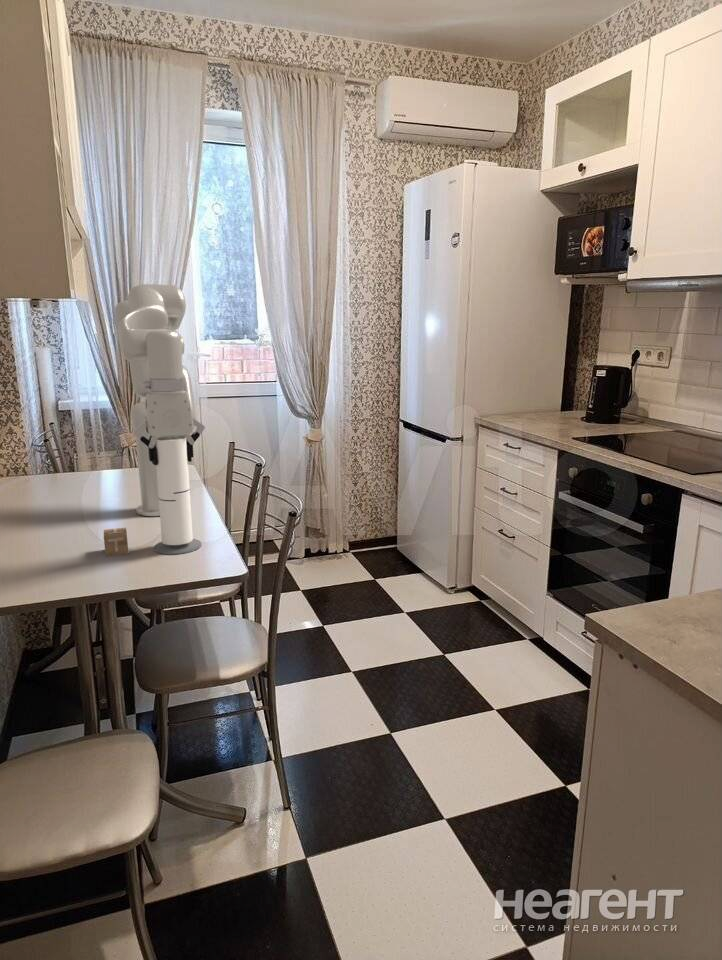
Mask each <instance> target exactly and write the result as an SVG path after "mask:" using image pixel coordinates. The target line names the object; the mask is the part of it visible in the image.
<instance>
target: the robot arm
mask: <svg viewBox="0 0 722 960" xmlns="http://www.w3.org/2000/svg"><path fill="white" fill-rule="evenodd" d="M186 303H187V302H186V298H185V295H184V292H183V291H182V289H181V288H180V287H178V286H176V285H174V284H151V283H147V284H146V283H145V284H138V285H134V286H133V287H132V288H131V289H130V290H129V291H128V294H127V300H123V301H120V302H118V303H117V304H116V305H115V307H114V319H115V324H116V328H117V338H118V344H119V347H120V352H121V354H122V357H123V358H124V360H126V361H128V362H129V369H130V376H131V383H132V389H133V392H134V394H135V395H136V396H137V397H138V398H141V399H145V401H140V402H138V403H135V404H134V405H133V406H132V408H131V410H130V422H131V424H132V428H133V431H132V434H133V435H134V437H135V445H136V451H137V452H136V454H137V463H138V465H137V466H138V478H139V488H140V489H139V490H140V491H139V492H140V500H141V501H140V503H141V504H140V505H138V506H137V507H136V508H135V509H136V514H138V515H140V516H144V517H160V509H159V496H158V483H157V470H156V465H157V464H158V459H157V449H156V448H155V443H156V441H157V439H158V437H172V436H185V437H186V443H187V458H188V463H189V462H190V463H191V462H193V460H192V458H194V444H195V442H196V441H197V439H199V438H200V436H201V434H202V433H203V431H205V428H206V426H205V425H204V424H202V423H200V422H199V421H198V420H197V411H196V405H195V399H194V392H193V385H192V379H191V375H190V372H189V370H188V369H187V367H186V366H184V365H183V355H184V354H185V340H184V338H183V336H182V335H181V333H180V332H179V331H177V330H178V329H179V328H180V327H181V324H182V321H183V319H184V317H185V314H186V305H187V304H186Z"/></svg>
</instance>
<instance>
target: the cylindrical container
mask: <svg viewBox="0 0 722 960" xmlns="http://www.w3.org/2000/svg"><path fill="white" fill-rule="evenodd" d="M155 448H156V449H157V459H158V464H157V465H156V470H157V483H158V496H159V509H160V516H159V519H160V532H161V542H162V543H163V544H166V545H182V544H186V543H189V542H191V541H192V540H193V539H194V538H193V537H194V536H193V525H192V524H193V522H192V521H193V520H192V519H193V518H192V508H191V491H190V477H189V476H190V475H189V474H190V473H189V461H188V458H187V443H186V437H185V436H172V437H158V439H157V441H156V443H155Z"/></svg>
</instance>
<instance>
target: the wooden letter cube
mask: <svg viewBox="0 0 722 960" xmlns="http://www.w3.org/2000/svg"><path fill="white" fill-rule="evenodd" d="M103 542H104V553H105V557H111V556H112V557H113V556H120V555H128V553H129V545H128V544H129V543H128V532H127V527H119V528H110V529H103Z"/></svg>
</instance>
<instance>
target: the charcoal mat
mask: <svg viewBox="0 0 722 960" xmlns="http://www.w3.org/2000/svg"><path fill="white" fill-rule="evenodd" d="M201 547H202V541H200V540H199V539H196V538H193V540H192V541H191V542H189V543H186V544H182V545H166V544H163V543H162V541H160V542H157V543H156V544H155V545H154V546H153V549H154V552H156V553H158V554H160V555H169V556H172V555H173V556H174V555H184V554H188V553H192V552H195V551H197V550H199V549H200V548H201Z"/></svg>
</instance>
